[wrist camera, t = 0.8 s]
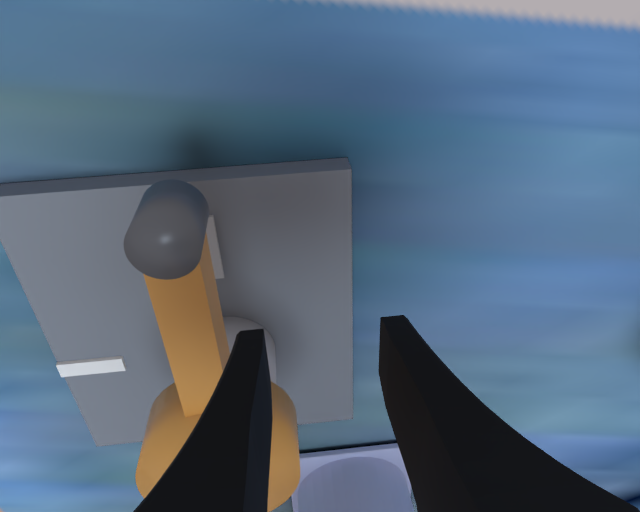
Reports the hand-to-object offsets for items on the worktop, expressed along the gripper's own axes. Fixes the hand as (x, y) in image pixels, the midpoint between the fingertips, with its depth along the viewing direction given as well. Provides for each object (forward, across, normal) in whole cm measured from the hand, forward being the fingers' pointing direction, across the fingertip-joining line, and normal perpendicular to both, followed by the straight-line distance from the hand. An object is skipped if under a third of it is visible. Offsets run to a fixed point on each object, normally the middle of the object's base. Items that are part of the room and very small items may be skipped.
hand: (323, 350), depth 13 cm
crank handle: (+4, +4, +4) cm, 7 cm away
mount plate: (+9, +5, +6) cm, 12 cm away
